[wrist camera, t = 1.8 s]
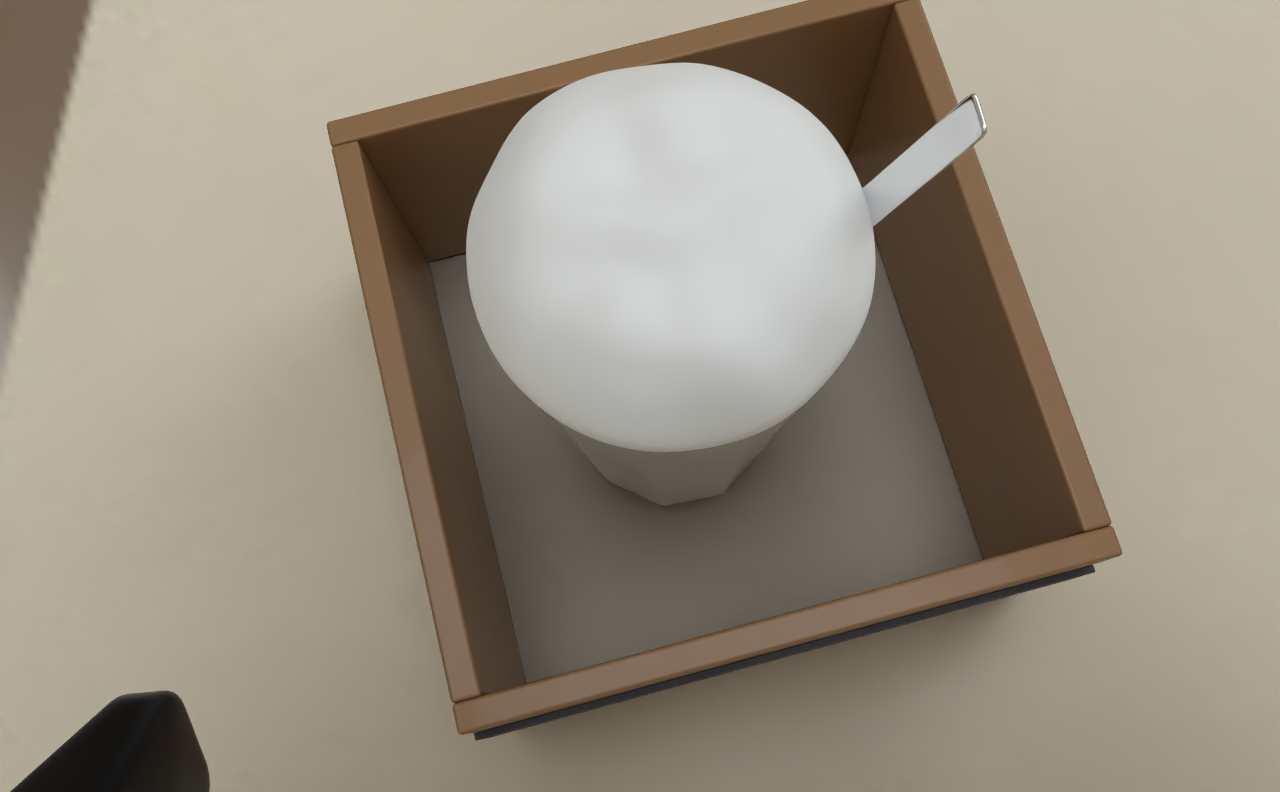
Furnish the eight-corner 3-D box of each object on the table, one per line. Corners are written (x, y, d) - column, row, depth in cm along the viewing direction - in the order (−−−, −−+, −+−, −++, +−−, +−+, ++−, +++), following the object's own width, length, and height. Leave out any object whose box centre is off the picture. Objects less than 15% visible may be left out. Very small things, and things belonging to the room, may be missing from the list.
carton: (1019, 594, 20) (1127, 561, 15) (513, 732, 20) (459, 743, 15) (861, 130, 22) (911, -28, 17) (403, 248, 22) (325, 121, 17)
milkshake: (875, 506, 21) (1048, 335, 11) (570, 567, 20) (470, 449, 11) (816, 263, 22) (924, -90, 12) (526, 320, 22) (399, 11, 12)
